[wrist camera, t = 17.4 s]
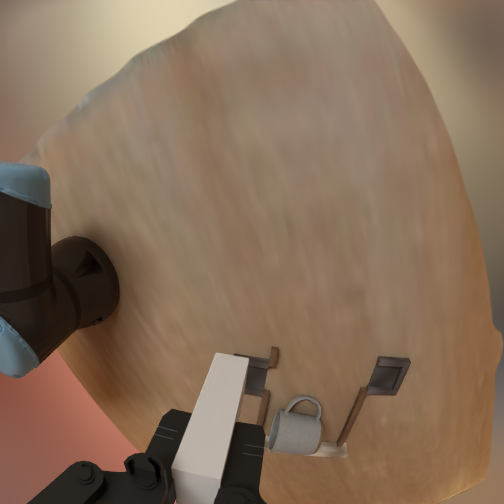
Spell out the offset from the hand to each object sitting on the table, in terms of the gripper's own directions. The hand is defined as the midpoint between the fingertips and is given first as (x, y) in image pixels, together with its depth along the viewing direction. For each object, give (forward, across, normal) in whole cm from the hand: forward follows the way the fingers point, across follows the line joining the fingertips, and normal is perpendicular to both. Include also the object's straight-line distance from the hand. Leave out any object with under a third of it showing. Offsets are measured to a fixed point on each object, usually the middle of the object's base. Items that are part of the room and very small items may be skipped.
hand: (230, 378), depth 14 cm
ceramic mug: (+30, +9, -31) cm, 44 cm away
